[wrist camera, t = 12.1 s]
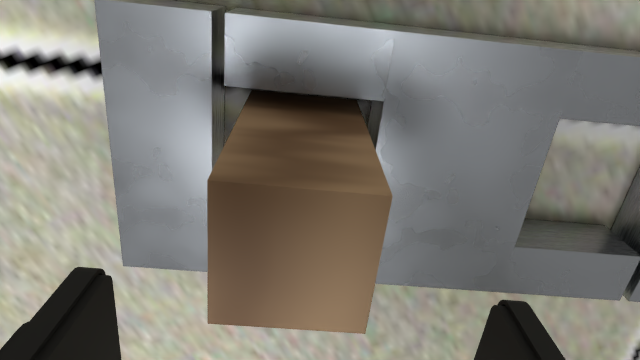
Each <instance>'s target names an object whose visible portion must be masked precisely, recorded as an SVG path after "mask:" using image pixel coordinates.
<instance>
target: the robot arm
mask: <svg viewBox="0 0 640 360" xmlns="http://www.w3.org/2000/svg"><path fill="white" fill-rule="evenodd" d="M0 360H121V352H120V344H119V335H118V326H117V317H116V308H115V300H114V291H113V282H112V278H111V276H109V275H105V272H104V270H103V269H98V268H86V267H77V268H75V269H74V270H73V271H72V272H71V273H70V274H69V275H68V276H67V278H66V279H65V280H64V281H63V282H62V284H61V285H60V286H59V287H58V288H57V290H56V291H55V292H54V293H53V294H52V295H51V297H50V298H49V299H48V300H47V301H46V303H45V304H44V305H43V306H42V307H41V308H40V310H39V311H38V312H37V313H36V314H35V316H34V317H33V318H32V319H31V320H30V322H27V323H25V324H23V325H22V326H21V327H20V328H19V329H18V330H17V331H16V332H15V333H14V334H13V335H12V337H11V338H10V339H9V340H8V341H7V342H6V344H5V345H4V346H3V347H2V348H1V349H0ZM474 360H565V358H564V357H563V355H562V354H561V352H560V351H559V349H558V348H557V346H556V345H555V343H554V342H553V340H552V339H551V337H550V336H549V334H548V333H547V331H546V330H545V328H544V327H543V325H542V324H541V322H540V321H539V319H538V318H537V316H536V315H535V313H534V312H533V310H532V309H531V307H530V306H529V304H528V303H526V302H524V301H511V300H501V301H500V302H499V303H498V305H494V306H493V307H492V308H491V311H490V313H489V316H488V319H487V322H486V325H485V328H484V331H483V334H482V337H481V340H480V343H479V346H478V349H477V352H476V355H475V358H474Z"/></svg>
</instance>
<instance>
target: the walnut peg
mask: <svg viewBox="0 0 640 360" xmlns="http://www.w3.org/2000/svg"><path fill="white" fill-rule="evenodd" d="M392 197H393V196H392V193H391V190H390V188H389V185H388V182H387V180H386V177H385V174H384V172H383V169H382V166H381V164H380V161H379V158H378V156H377V153H376V150H375V148H374V145H373V142H372V140H371V137H370V134H369V132H368V129H367V126H366V124H365V121H364V118H363V116H362V113H361V110H360V108H359V105H358V102H357V100H352V99H342V98H332V97H322V96H312V95H302V94H292V93H282V92H272V91H262V90H252V91H251V93H250V95H249V97H248V99H247V101H246V103H245V105H244V107H243V109H242V111H241V113H240V115H239V117H238V119H237V121H236V123H235V125H234V127H233V129H232V131H231V133H230V135H229V137H228V139H227V141H226V143H225V145H224V147H223V149H222V151H221V153H220V156H219V158H218V160H217V162H216V164H215V166H214V168H213V170H212V172H211V174H210V176H209V178H208V180H207V236H208V324H223V325H238V326H254V327H269V328H285V329H300V330H316V331H331V332H347V333H362V334H365V332H366V327H367V322H368V317H369V312H370V307H371V302H372V297H373V292H374V287H375V282H376V277H377V272H378V267H379V262H380V257H381V252H382V247H383V242H384V237H385V232H386V227H387V222H388V217H389V212H390V207H391V202H392Z"/></svg>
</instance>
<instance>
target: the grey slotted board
mask: <svg viewBox="0 0 640 360" xmlns="http://www.w3.org/2000/svg"><path fill="white" fill-rule="evenodd" d="M95 10H96V19H97V28H98V37H99V47H100V56H101V65H102V75H103V84H104V93H105V102H106V112H107V121H108V130H109V139H110V149H111V158H112V167H113V177H114V186H115V195H116V204H117V214H118V223H119V232H120V242H121V251H122V260H123V266H130V267H144V268H159V269H173V270H187V271H202V272H208V236H207V180H208V178H209V176H210V174H211V172H212V170H213V168H214V166H215V164H216V162H217V160H218V158H219V156H220V153H221V151H222V149H223V147H224V94H225V86H231V87H242V88H252V89H262V90H273V91H283V92H293V93H304V94H314V95H324V96H335V97H345V98H355V99H366V100H372V102H371V108H370V115H369V121H368V127H367V129H368V132H369V134H370V137H371V140H372V142H373V145H374V148H375V150H376V153H377V156H378V158H379V161H380V164H381V166H382V169H383V172H384V174H385V177H386V180H387V182H388V185H389V188H390V190H391V193H392V196H393V197H392V202H391V207H390V212H389V217H388V222H387V227H386V232H385V237H384V242H383V247H382V252H381V257H380V262H379V267H378V272H377V277H376V282H375V284H389V285H404V286H418V287H432V288H447V289H461V290H476V291H490V292H504V293H519V294H533V295H548V296H562V297H576V298H591V299H605V300H620V299H621V297H622V295H623V296H624V297H625V298H626V299H627V300H628V301H634V302H640V167H639V169H638V172H637V174H636V176H635V178H634V180H633V183H632V185H631V187H630V189H629V191H628V194H627V196H626V198H625V200H624V203H623V205H622V207H621V209H620V211H619V214H618V216H617V218H616V220H615V222H614V225H613V227H612V229H611V230H609V229H608V228H607V227H606V226H605V225H595V224H583V223H571V222H558V221H546V220H534V219H524V218H525V216H526V213H527V210H528V207H529V204H530V201H531V198H532V196H533V193H534V190H535V187H536V184H537V181H538V178H539V176H540V173H541V170H542V167H543V164H544V161H545V158H546V156H547V153H548V150H549V147H550V144H551V141H552V138H553V136H554V133H555V130H556V127H557V124H558V121H559V118H562V119H572V120H582V121H593V122H603V123H613V124H624V125H634V126H640V51H635V50H626V49H617V48H607V47H598V46H589V45H580V44H571V43H561V42H552V41H543V40H534V39H524V38H515V37H506V36H497V35H488V34H478V33H469V32H460V31H451V30H442V29H432V28H423V27H414V26H405V25H396V24H386V23H377V22H368V21H359V20H349V19H340V18H331V17H322V16H313V15H303V14H294V13H285V12H276V11H267V10H257V9H248V8H239V7H237V8H234V9H232V10H230V11H228V12H226V13H225V6H221V5H211V4H202V3H193V2H184V1H174V0H95Z"/></svg>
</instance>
